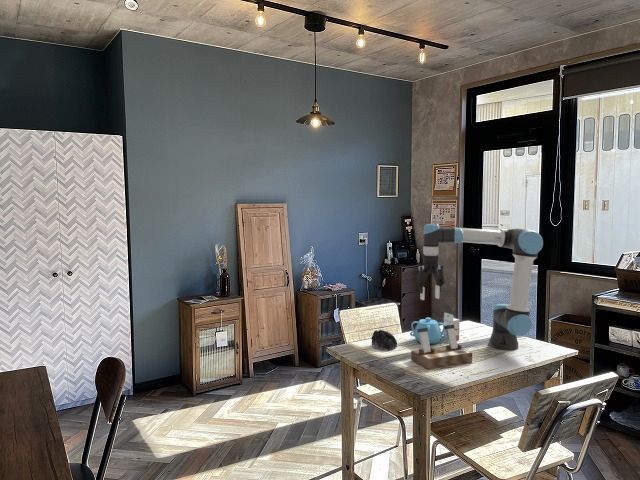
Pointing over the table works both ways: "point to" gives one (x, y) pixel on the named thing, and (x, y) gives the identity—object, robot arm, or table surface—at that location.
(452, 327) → the lever
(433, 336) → the decorative pot
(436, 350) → the switch unit
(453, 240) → the robot arm
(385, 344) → the black rock
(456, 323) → the ink cartridge box
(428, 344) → the lever
